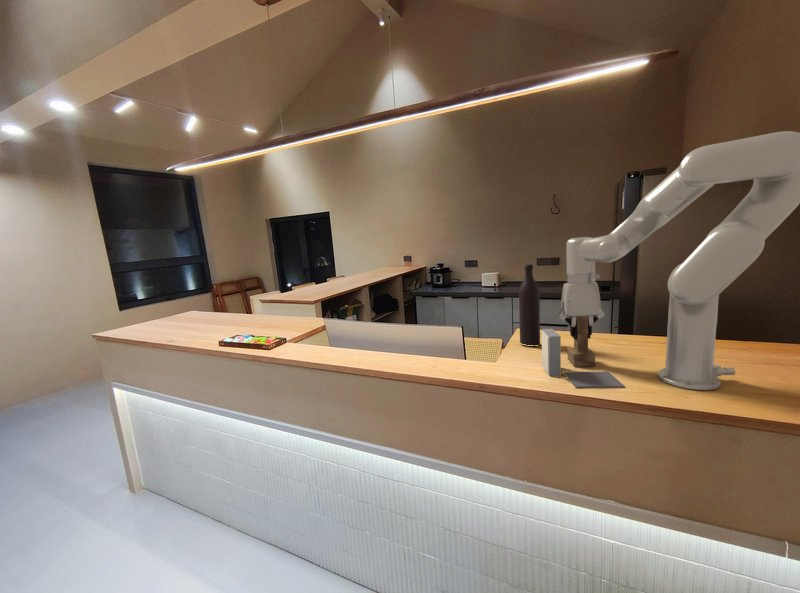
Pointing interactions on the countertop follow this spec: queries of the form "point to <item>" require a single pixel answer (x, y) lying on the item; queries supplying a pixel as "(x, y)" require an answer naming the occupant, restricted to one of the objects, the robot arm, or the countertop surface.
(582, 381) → the mat
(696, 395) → the countertop surface
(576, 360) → the tamper
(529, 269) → the wine bottle
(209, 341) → the countertop surface
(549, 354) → the tile
